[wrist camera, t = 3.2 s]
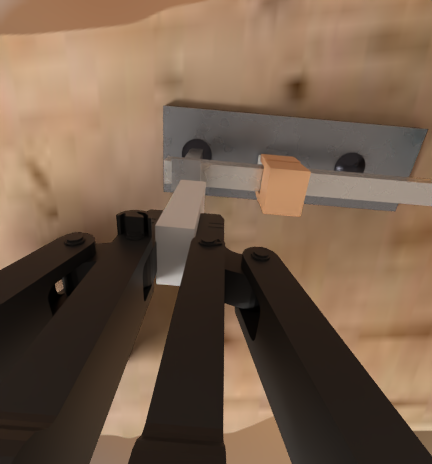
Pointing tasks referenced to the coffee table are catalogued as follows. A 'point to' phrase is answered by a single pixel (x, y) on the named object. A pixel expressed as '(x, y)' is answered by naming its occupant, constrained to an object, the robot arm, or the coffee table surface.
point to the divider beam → (319, 183)
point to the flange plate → (292, 146)
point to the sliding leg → (282, 185)
